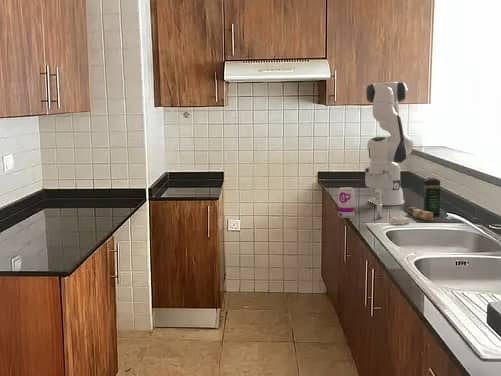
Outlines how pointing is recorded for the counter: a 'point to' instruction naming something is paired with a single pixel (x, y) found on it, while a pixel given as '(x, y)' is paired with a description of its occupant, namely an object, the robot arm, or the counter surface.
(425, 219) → the hinge plate
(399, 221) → the socket
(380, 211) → the locking pin
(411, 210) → the oak leg
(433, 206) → the coffee jar
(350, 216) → the supplement can
